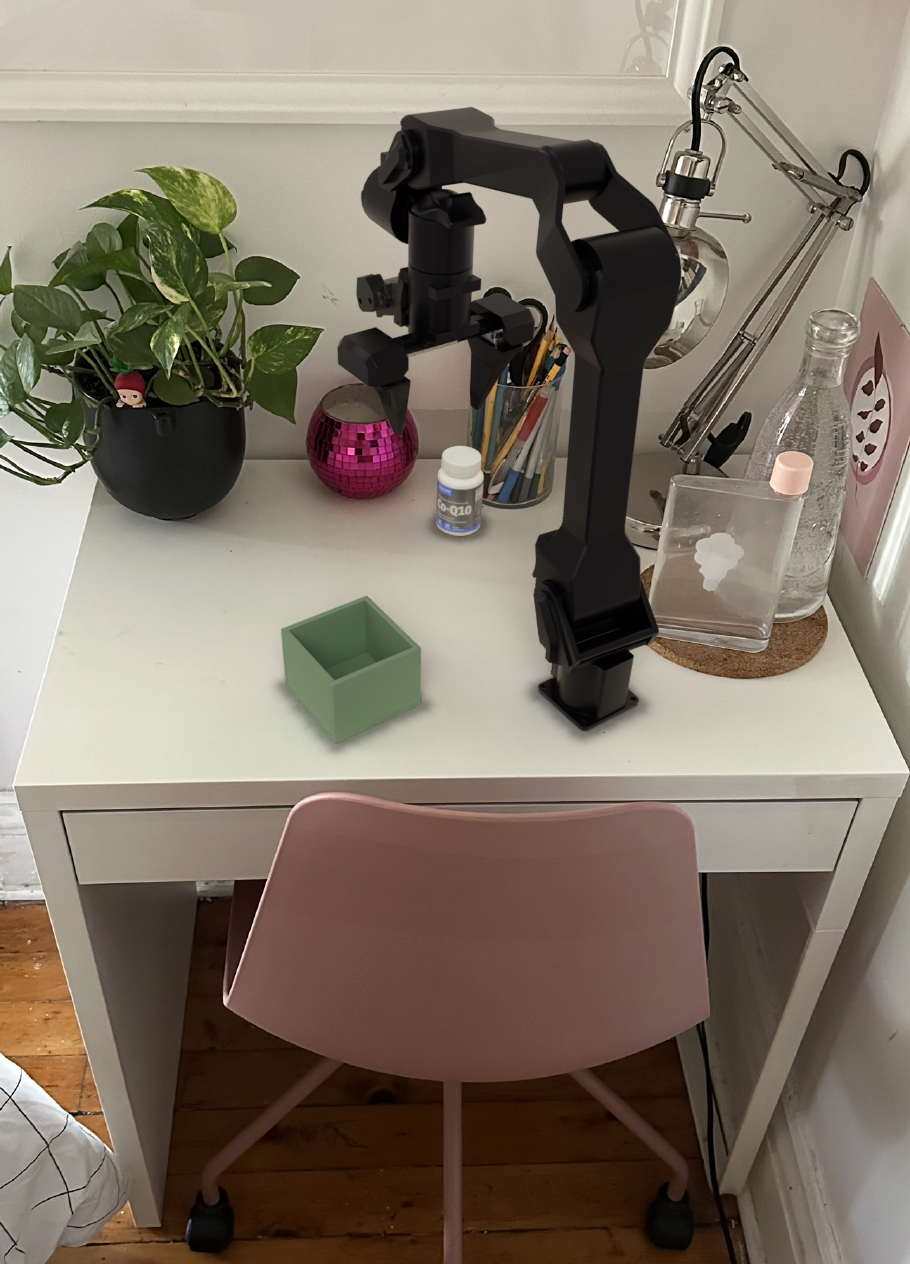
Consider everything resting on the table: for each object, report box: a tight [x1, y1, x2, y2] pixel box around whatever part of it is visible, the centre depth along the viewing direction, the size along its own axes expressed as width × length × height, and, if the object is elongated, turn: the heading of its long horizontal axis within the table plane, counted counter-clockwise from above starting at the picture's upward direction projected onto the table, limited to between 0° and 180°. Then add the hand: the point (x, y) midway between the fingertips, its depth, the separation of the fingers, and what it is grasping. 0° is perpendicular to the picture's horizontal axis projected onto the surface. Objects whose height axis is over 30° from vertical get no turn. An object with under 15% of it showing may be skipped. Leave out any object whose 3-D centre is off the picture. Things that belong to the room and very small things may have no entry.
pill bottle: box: [435, 445, 485, 537], centre depth 117 cm, size 5×5×8 cm
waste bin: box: [280, 595, 422, 744], centre depth 97 cm, size 8×8×6 cm
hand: (437, 420), depth 110 cm, fingers open, 9 cm apart
